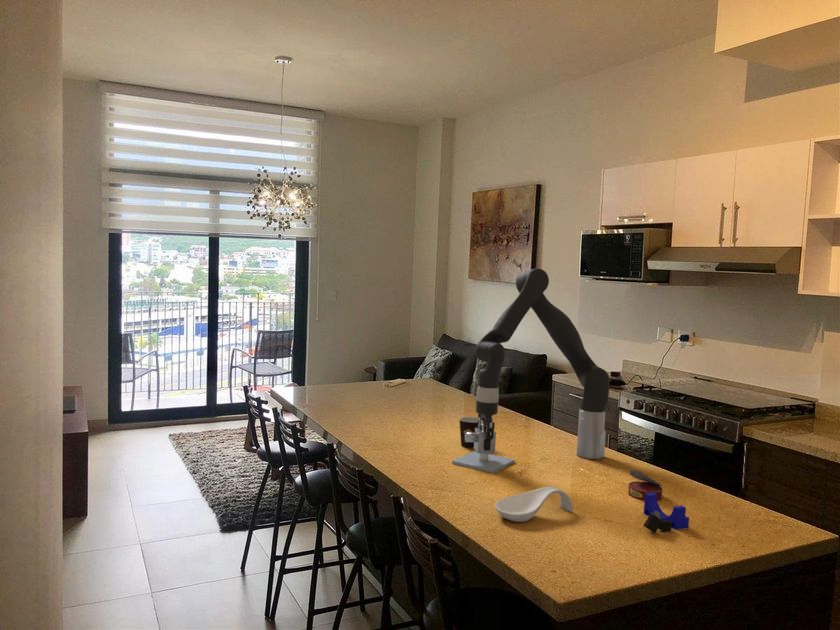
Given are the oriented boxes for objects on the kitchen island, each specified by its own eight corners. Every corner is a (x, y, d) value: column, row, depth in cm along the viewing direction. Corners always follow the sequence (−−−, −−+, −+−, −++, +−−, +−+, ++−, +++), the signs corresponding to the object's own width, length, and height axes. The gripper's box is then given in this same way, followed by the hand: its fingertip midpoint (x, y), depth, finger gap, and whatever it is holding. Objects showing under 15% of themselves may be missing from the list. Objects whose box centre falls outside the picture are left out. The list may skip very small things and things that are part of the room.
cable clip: (688, 528, 180) (690, 506, 180) (675, 530, 178) (677, 508, 178) (655, 512, 191) (657, 492, 190) (643, 514, 189) (645, 493, 189)
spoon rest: (511, 529, 174) (512, 503, 173) (486, 514, 184) (487, 488, 184) (581, 517, 185) (582, 491, 185) (553, 502, 195) (555, 478, 195)
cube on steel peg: (490, 448, 234) (491, 428, 233) (494, 453, 228) (496, 432, 227) (463, 448, 232) (464, 427, 232) (466, 452, 226) (467, 432, 226)
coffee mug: (453, 445, 252) (454, 419, 252) (467, 441, 259) (469, 415, 258) (477, 451, 244) (479, 425, 244) (491, 447, 251) (493, 421, 250)
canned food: (627, 506, 208) (621, 474, 212) (659, 505, 207) (654, 472, 211) (635, 501, 197) (629, 467, 201) (669, 499, 197) (663, 465, 201)
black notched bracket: (660, 537, 178) (669, 520, 179) (665, 540, 177) (675, 523, 177) (641, 524, 176) (650, 507, 176) (646, 527, 174) (656, 510, 174)
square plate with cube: (514, 462, 234) (515, 446, 233) (493, 473, 220) (494, 456, 220) (474, 453, 242) (475, 438, 242) (452, 463, 229) (452, 447, 228)
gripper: (503, 404, 223) (500, 453, 224) (492, 395, 237) (489, 442, 238) (481, 403, 221) (478, 453, 223) (472, 395, 236) (469, 441, 237)
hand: (484, 447), depth 230 cm, fingers closed on cube on steel peg, 6 cm apart
